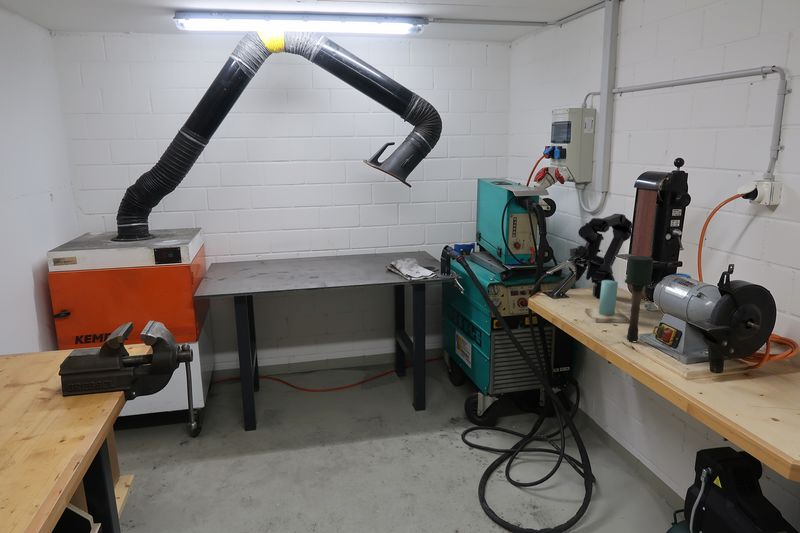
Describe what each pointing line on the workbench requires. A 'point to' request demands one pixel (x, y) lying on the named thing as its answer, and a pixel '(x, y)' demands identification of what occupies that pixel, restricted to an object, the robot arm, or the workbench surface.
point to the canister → (608, 297)
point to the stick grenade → (637, 288)
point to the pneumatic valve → (650, 305)
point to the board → (604, 318)
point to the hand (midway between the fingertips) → (581, 280)
